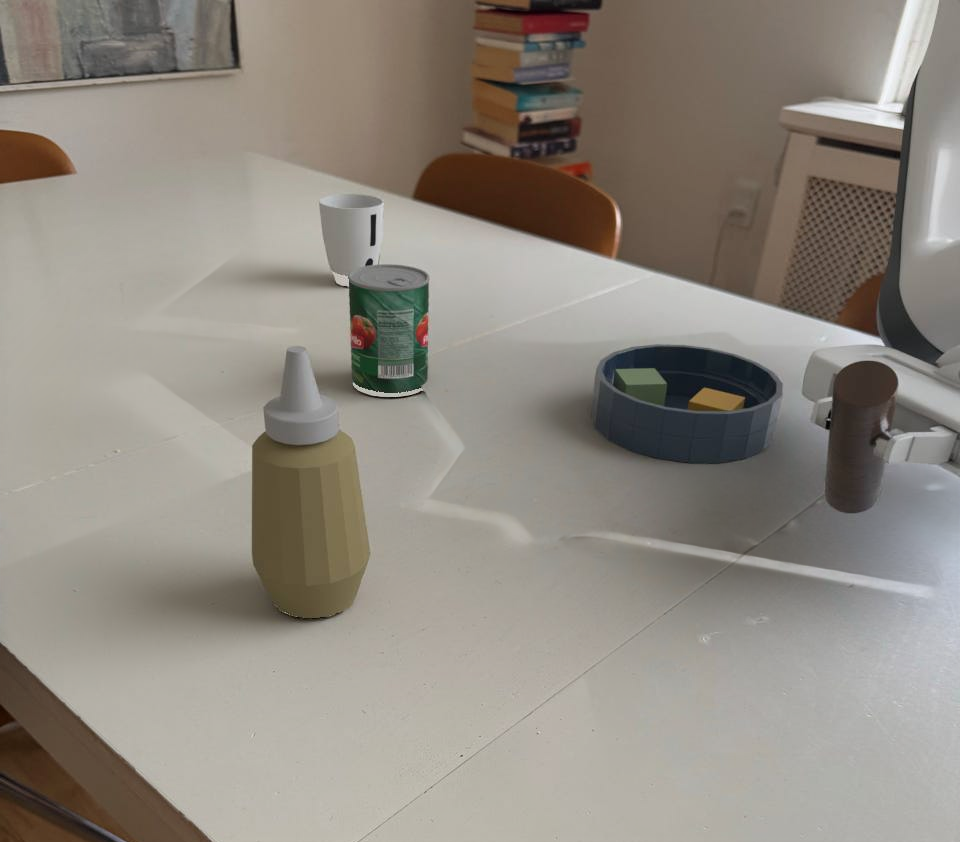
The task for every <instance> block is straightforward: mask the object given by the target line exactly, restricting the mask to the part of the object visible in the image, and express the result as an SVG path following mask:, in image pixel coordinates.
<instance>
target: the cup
mask: <svg viewBox="0 0 960 842" xmlns="http://www.w3.org/2000/svg"><path fill="white" fill-rule="evenodd" d="M318 205H319V216H320V225H321V232H322V233H321V234H322V239H323V245H324V248H325V253H326V258H327V263H328V265H329V268H330V271H331V270H332V271H333V272H335V273H337V274H340V275H345V276H348V274H349V273H350V272H351V271H352V270H354V269H357V268H360V267H364V266H369V265H380V259H381V251H382V244H383V237H384V209H385V208H384V207H385V200H384V199H383V198H381V197H378V196H375V195H370V194H362V193H337V194H336V193H335V194H329V195H326V196H323V197H320V198H319V199H318Z"/></svg>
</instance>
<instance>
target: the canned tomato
mask: <svg viewBox="0 0 960 842" xmlns="http://www.w3.org/2000/svg"><path fill="white" fill-rule="evenodd" d="M348 279H349V287H348V301H349V303H348V304H349V325H350V326H349V331H350V335H349V336H350V360H351V366H350V367H351V381H352V380H353V382H354V383H355V384H356V385H358V386H359V387H362V388H365V389H368V390H373V391H376V392H378V391H379V392H384V393H398V392H399V393H401V392H406V391H407V392H408V391H412V390H415V389H419V388H421V387H422V386H423V385H424V384H426V383H427V381H428V375H429V374H428V373H429V372H428V371H429V307H430V302H429V300H430V294H429V293H430V291H429V290H430V284H429V283H430V282H429V281H430V275H429V274H428V272H426V271H425V270H423V269H421V268H419V267H414V266H409V265H403V264H392V263H391V264H390V263H389V264H387V263H385V264H379V265H369V266H364V267H360V268H357V269H354V270H352V271H351V272H350V273H349V274H348Z"/></svg>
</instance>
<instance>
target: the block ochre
mask: <svg viewBox="0 0 960 842" xmlns="http://www.w3.org/2000/svg"><path fill="white" fill-rule="evenodd" d="M744 401H745V397H742V396H738V395H734V394H729V393H725V392H721V391H717V390H713V389H708V388H703V389H702V390H701V391H700V392H699V393H697V394H696V395H695V396H694V397H693V398H692V399H691V400H690V401H689V404H688V410H692V411H731V410H739V409H743V406H744Z"/></svg>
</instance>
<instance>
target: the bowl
mask: <svg viewBox="0 0 960 842" xmlns="http://www.w3.org/2000/svg"><path fill="white" fill-rule="evenodd" d="M642 368H655V369H656V371H657V372H658V373H659V374H660V376H661V377H662V378H663V379H664V380H665V382H666V383H667V389H666V395H665V402H664V406H661V405H657V404H653V403H649V402H646V401H642V400H639V399H637V398H634V397H632V396H630V395H628V394H625V393H623V392H621V391H619V390H618V389H616V388H615V387H614V386H613V381H614V373H615V369H642ZM594 374H595V375H594V383H593V390H592V391H593V392H592V399H591V410H590V418H591V422H592V424H593V426H594V429H595V430H596V431H598V432H599V433H600V434H601V435H602V436H603V437H604V438H605V439H607V440H608V441H609V442H612V443H613V444H616V445H618V446H620V447H622V448H624V449H626V450H628V451H631V452H633V453H637V454H640V455H645V456H647V457H651V458H654V459H660V460H666V461H673V462H681V463H687V464H721V463H727V462H734V461H740V460H745V459H748V458H750V457H752V456H754V455H757V454H760V453H762V452H763V451H764V450H765V449H766V448H767V447H768V446H769V445H770V444H771V443H772V442H773V439H774V436H775V432H776V431H775V430H776V426H777V421H778V417H779V411H780V408H781V404H782V400H783V395H784V383H783V382H782V380H781V379H780V378H779V376H777V374H776V373H775V372H774V371H772V370H771V369H769V368H767V367H766V366H765V365H762V364H761V363H760V362H757V361H754V360H752V359H749V358H746V357H744V356H741V355H739V354H736V353H732V352H727V351H723V350H719V349H716V348H710V347H704V346H696V345H687V344H661V343H659V344H647V345H638V346H637V345H636V346H630V347H627V348H623V349H620V350H617V351H616V350H615V351H612V352H611V353H609V354H608V355H606V356H604V357H603V358H602V359H599V362H598V364H597V366H596V369H595V373H594ZM703 388H708V389H713V390H717V391H721V392H725V393H729V394H734V395H738V396H742V397H745V401H744V406H743V409H739V410H731V411H692V410H688V404H689V401H690V400H691V399H692V398H693V397H694V396H695V395H696V394H697V393H699V392H700V391H701V390H702V389H703Z"/></svg>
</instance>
